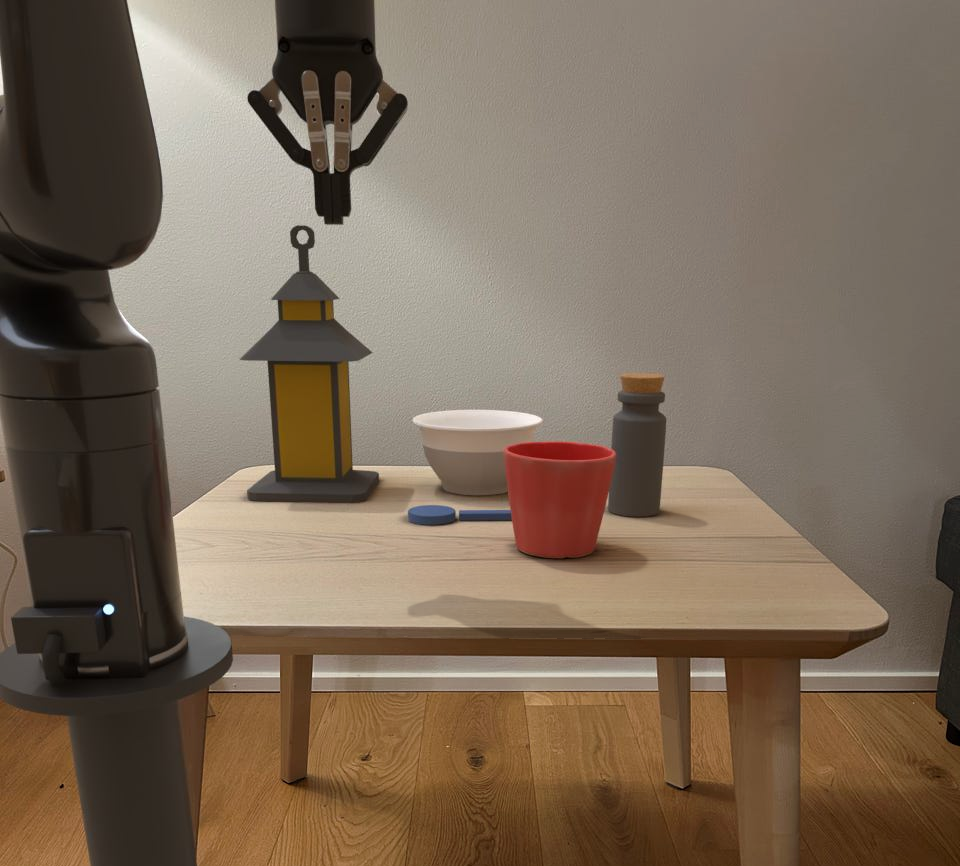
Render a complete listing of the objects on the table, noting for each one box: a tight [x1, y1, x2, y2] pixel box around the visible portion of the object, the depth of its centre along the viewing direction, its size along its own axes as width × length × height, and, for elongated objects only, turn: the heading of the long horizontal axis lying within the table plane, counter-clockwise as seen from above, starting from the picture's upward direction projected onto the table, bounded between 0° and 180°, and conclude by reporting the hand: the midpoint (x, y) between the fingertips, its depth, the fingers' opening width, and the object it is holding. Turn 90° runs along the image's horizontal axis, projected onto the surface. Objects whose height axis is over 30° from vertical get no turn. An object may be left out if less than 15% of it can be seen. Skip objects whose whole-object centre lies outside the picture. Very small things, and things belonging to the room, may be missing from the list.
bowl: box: [411, 409, 544, 496], centre depth 120 cm, size 16×16×9 cm
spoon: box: [407, 504, 512, 526], centre depth 106 cm, size 18×5×1 cm, turn 94°
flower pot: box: [504, 440, 616, 559], centre depth 94 cm, size 11×11×10 cm
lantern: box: [239, 224, 380, 503], centre depth 115 cm, size 14×14×30 cm
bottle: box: [607, 372, 667, 518], centre depth 108 cm, size 6×6×15 cm
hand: (334, 224), depth 79 cm, fingers closed
